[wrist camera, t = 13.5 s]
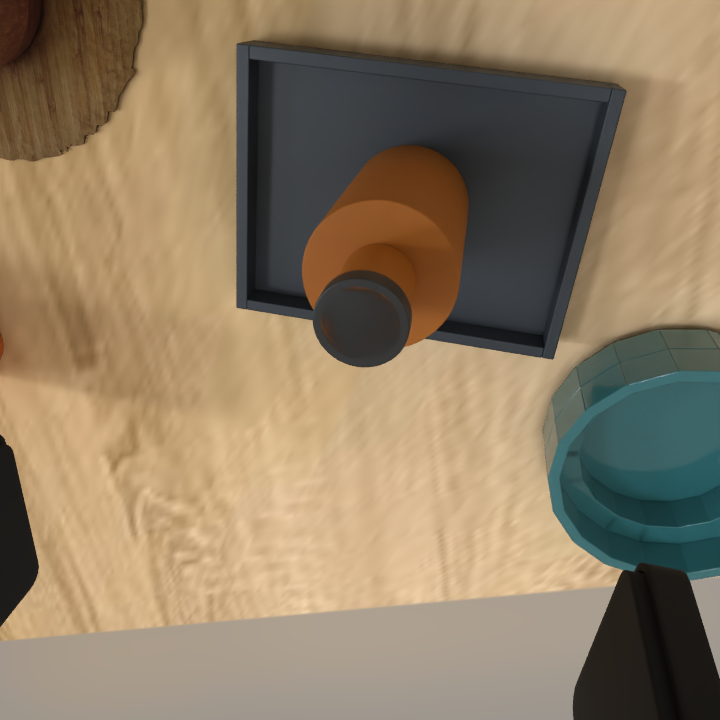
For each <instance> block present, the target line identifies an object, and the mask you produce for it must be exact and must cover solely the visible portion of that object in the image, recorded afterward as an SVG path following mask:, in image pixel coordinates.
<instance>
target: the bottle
mask: <svg viewBox="0 0 720 720" xmlns="http://www.w3.org/2000/svg"><path fill="white" fill-rule="evenodd" d="M468 211H469V198H468V191H467V188H466V185H465V182H464V180H463V178H462V176H461V174H460V173H459V171H458V170H457V168H456V167H455V166H454V165H453V164H452V163H451V162H450V161H449V160H448V159H447V158H446V157H444V156H443V155H441V154H440V153H438V152H436V151H434V150H432V149H429V148H426V147H422V146H417V145H401V146H396V147H392V148H389V149H386V150H384V151H382V152H380V153H378V154H377V155H375V156H374V157H373V158H371V159H370V160H369V161H368V162H367V163H366V164H365V165H364V166H363V168H362V169H361V170H360V172H359V173H358V174H357V175H356V177H355V178H354V179H353V181H352V182H351V183H350V185H349V186H348V187H347V188H346V190H345V191H344V192H343V194H342V195H341V196H340V198H339V199H338V200H337V202H336V203H335V204H334V205H333V207H332V208H331V209H330V211H329V212H328V213H327V215H326V216H325V217H324V218H323V220H322V221H321V222H320V224H319V225H318V226H317V228H316V229H315V230H314V232H313V234H312V235H311V237H310V238H309V241H308V243H307V245H306V248H305V252H304V256H303V262H302V278H303V285H304V289H305V292H306V295H307V298H308V300H309V302H310V305H311V306H312V308H313V310H314V311H313V326H314V330H315V334H316V336H317V338H318V340H319V342H320V344H321V345H322V346H323V348H324V349H325V350H326V351H327V352H328V353H329V354H330V355H332V356H333V357H334V358H336V359H337V360H339V361H341V362H343V363H346V364H348V365H352V366H356V367H374V366H378V365H381V364H384V363H386V362H388V361H390V360H392V359H393V358H394V357H396V356H397V355H398V354H399V353H400V352H401V350H402V349H403V348H404V347H406V346H410V345H412V344H415V343H417V342H419V341H421V340H423V339H425V338H427V337H428V336H430V335H431V334H432V333H434V332H435V331H436V330H437V329H438V328H439V327H440V326H441V325H442V324H443V323H444V322H445V320H446V319H447V318H448V316H449V315H450V313H451V311H452V309H453V307H454V305H455V302H456V300H457V296H458V292H459V285H460V277H461V268H462V260H463V252H464V244H465V236H466V228H467V220H468Z"/></svg>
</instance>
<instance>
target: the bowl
mask: <svg viewBox="0 0 720 720" xmlns="http://www.w3.org/2000/svg"><path fill="white" fill-rule="evenodd" d="M543 439H544V449H545V458H546V467H547V476H548V483H549V490H550V496H551V502H552V508H553V512H554V514H555V515H556V517H557V518H558V520H559V521H560V523H561V524H562V526H563V527H564V529H565V530H566V532H567V533H568V535H569V536H570V538H571V539H572V541H573V542H574V543H576V544H577V545H578V546H580V547H581V548H583V549H584V550H585V551H587V552H588V553H590V554H591V555H593V556H594V557H595V558H597V559H598V560H600V561H601V562H602V563H604V564H606V565H609V566H612V567H615V568H618V569H621V570H629V571H634V570H635V569H636V567H637V565H638V564H639V563H647V564H652V565H657V566H662V567H667V568H672V569H677V570H682V571H684V572H685V573H686V574H687V575H688V578H689V580H697V579H703V578H709V577H715V576H720V334H719V333H716V332H713V331H710V330H677V329H660V330H654V331H651V332H647V333H644V334H640V335H637V336H634V337H630V338H627V339H623V340H620V341H616V342H614V343H612V344H610V345H609V346H607V347H606V348H604V349H602V350H601V351H599V352H598V353H596V354H595V355H593V356H592V357H590V358H589V359H587V360H586V361H584V362H582V363H581V364H579V365H578V366H577V367H575V368H574V370H573V371H572V372H571V374H570V375H569V376H568V377H567V379H566V380H565V381H564V382H563V384H562V385H561V386H560V388H559V389H558V390H557V391H556V393H555V394H554V395H553V397H552V399H551V402H550V406H549V409H548V413H547V417H546V420H545V424H544V427H543Z"/></svg>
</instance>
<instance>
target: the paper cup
mask: <svg viewBox="0 0 720 720" xmlns="http://www.w3.org/2000/svg"><path fill="white" fill-rule="evenodd" d="M2 353H3V342H2V337H1V334H0V359H1V357H2Z"/></svg>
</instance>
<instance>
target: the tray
mask: <svg viewBox="0 0 720 720" xmlns="http://www.w3.org/2000/svg"><path fill="white" fill-rule="evenodd" d="M625 95H626V90H625V89H624V88H622V87H621V86H619V85H618V84H614V83H606V82H597V81H589V80H581V79H572V78H564V77H555V76H547V75H539V74H530V73H522V72H513V71H505V70H496V69H488V68H480V67H471V66H463V65H454V64H446V63H438V62H429V61H421V60H412V59H404V58H396V57H387V56H379V55H370V54H362V53H353V52H345V51H337V50H328V49H320V48H311V47H303V46H295V45H286V44H278V43H269V42H261V41H249V42H242V43H237V308H241V309H248V310H254V311H260V312H266V313H273V314H279V315H285V316H291V317H297V318H303V319H309V320H313V311H314V310H313V308H312V306H311V305H310V302H309V300H308V298H307V295H306V292H305V289H304V285H303V278H302V262H303V256H304V252H305V248H306V245H307V243H308V241H309V238H310V237H311V235H312V234H313V232H314V230H315V229H316V228H317V226H318V225H319V224H320V222H321V221H322V220H323V218H324V217H325V216H326V215H327V213H328V212H329V211H330V209H331V208H332V207H333V205H334V204H335V203H336V202H337V200H338V199H339V198H340V196H341V195H342V194H343V192H344V191H345V190H346V188H347V187H348V186H349V185H350V183H351V182H352V181H353V179H354V178H355V177H356V175H357V174H358V173H359V172H360V170H361V169H362V168H363V166H364V165H365V164H366V163H367V162H368V161H369V160H370V159H371V158H373V157H374V156H375V155H377V154H378V153H380V152H382V151H384V150H386V149H389V148H392V147H396V146H401V145H417V146H422V147H426V148H429V149H432V150H434V151H436V152H438V153H440V154H441V155H443V156H444V157H446V158H447V159H448V160H449V161H450V162H451V163H452V164H453V165H454V166H455V167H456V168H457V170H458V171H459V173H460V174H461V176H462V178H463V180H464V182H465V185H466V188H467V191H468V198H469V211H468V220H467V228H466V236H465V244H464V252H463V260H462V268H461V277H460V285H459V292H458V296H457V300H456V302H455V305H454V307H453V309H452V311H451V313H450V315H449V316H448V318H447V319H446V320H445V322H444V323H443V324H442V325H441V326H440V327H439V328H438V329H437V330H436V331H435V332H434V333H432V334H431V335H430V336H428V337H427V338H425V339H431V340H437V341H443V342H449V343H455V344H461V345H467V346H473V347H479V348H485V349H491V350H497V351H504V352H510V353H516V354H522V355H528V356H534V357H540V358H541V357H542V358H546V359H554V355H555V352H556V348H557V344H558V341H559V337H560V333H561V330H562V326H563V322H564V319H565V315H566V311H567V308H568V304H569V300H570V297H571V293H572V289H573V286H574V282H575V278H576V275H577V271H578V267H579V264H580V260H581V256H582V253H583V249H584V245H585V242H586V238H587V234H588V231H589V227H590V223H591V220H592V216H593V212H594V209H595V205H596V201H597V198H598V194H599V190H600V187H601V183H602V179H603V176H604V172H605V168H606V165H607V161H608V157H609V154H610V150H611V146H612V143H613V139H614V135H615V132H616V128H617V124H618V121H619V117H620V113H621V110H622V106H623V103H624V99H625Z"/></svg>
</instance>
